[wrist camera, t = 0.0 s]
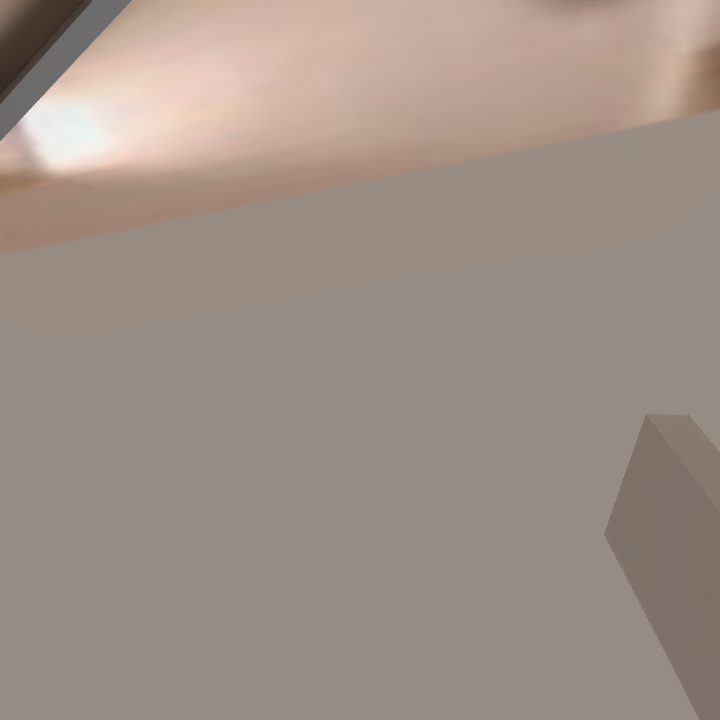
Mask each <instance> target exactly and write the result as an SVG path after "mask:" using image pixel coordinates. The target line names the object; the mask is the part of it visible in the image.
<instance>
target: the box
mask: <svg viewBox="0 0 720 720" xmlns="http://www.w3.org/2000/svg"><path fill="white" fill-rule="evenodd" d="M130 1H131V0H83V1H82V2H81V3H80V4H79V6H78V7H77V8H76V9H75V10H74V11H73V12H72V13H71V15H70V16H69V17H68V18H67V19H66V20H65V21H64V22H63V24H62V25H61V26H60V27H59V28H58V29H57V30H56V32H55V33H54V34H53V35H52V36H51V37H50V38H49V39H48V41H47V42H46V43H45V44H44V45H43V46H42V47H41V48H40V50H39V51H38V52H37V53H36V54H35V55H34V56H33V58H32V59H31V60H30V61H29V62H28V63H27V64H26V65H25V67H24V68H23V69H22V70H21V71H20V72H19V73H18V74H17V76H16V77H15V78H14V79H13V80H12V81H11V82H10V84H9V85H8V86H7V87H6V88H5V89H4V90H3V91H2V93H1V94H0V141H1V140H2V139H3V138H4V137H5V135H6V134H7V133H8V132H9V131H10V130H11V129H12V128H13V127H14V126H15V125H16V124H17V123H18V122H19V120H20V119H21V118H22V117H23V116H24V115H25V114H26V113H27V112H28V111H29V110H30V109H31V108H32V107H33V105H34V104H35V103H36V102H37V101H38V100H39V99H40V98H41V97H42V96H43V95H44V94H45V93H46V92H47V90H48V89H49V88H50V87H51V86H52V85H53V84H54V83H55V82H56V81H57V80H58V79H59V78H60V77H61V75H62V74H63V73H64V72H65V71H66V70H67V69H68V68H69V67H70V66H71V65H72V64H73V63H74V62H75V60H76V59H77V58H78V57H79V56H80V55H81V54H82V53H83V52H84V51H85V50H86V49H87V48H88V47H89V45H90V44H91V43H92V42H93V41H94V40H95V39H96V38H97V37H98V36H99V35H100V34H101V33H102V32H103V30H104V29H105V28H106V27H107V26H108V25H109V24H110V23H111V22H112V21H113V20H114V19H115V18H116V17H117V15H118V14H119V13H120V12H121V11H122V10H123V9H124V8H125V7H126V6H127V5H128V4H129V3H130Z"/></svg>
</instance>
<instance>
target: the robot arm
mask: <svg viewBox="0 0 720 720" xmlns="http://www.w3.org/2000/svg"><path fill="white" fill-rule="evenodd" d="M604 535H605V537H606V539H607V541H608V543H609V544H610V547H611V548H612V551H613V553H614V554H615V556H616V558H617V560H618V562H619V564H620V566H621V568H622V570H623V572H624V574H625V576H626V578H627V580H628V582H629V584H630V585H631V587H632V589H633V591H634V593H635V595H636V597H637V599H638V601H639V603H640V605H641V607H642V609H643V610H644V613H645V614H646V617H647V619H648V621H649V622H650V624H651V626H652V628H653V630H654V632H655V634H656V636H657V638H658V640H659V642H660V644H661V646H662V647H663V650H664V652H665V654H666V655H667V657H668V659H669V661H670V663H671V665H672V667H673V669H674V671H675V673H676V675H677V677H678V679H679V680H680V683H681V685H682V687H683V688H684V690H685V692H686V694H687V696H688V698H689V700H690V702H691V704H692V706H693V708H694V710H695V712H696V714H697V716H698V718H699V720H720V452H719V450H718V449H717V448H716V447H715V446H714V445H713V443H712V442H711V441H710V440H709V439H708V437H707V436H706V435H705V434H704V433H703V431H702V430H701V429H700V428H699V427H698V426H697V424H696V423H695V422H694V421H693V420H692V418H691V417H690V416H689V415H688V416H687V415H662V414H646V416H645V418H644V421H643V424H642V427H641V430H640V433H639V436H638V438H637V441H636V444H635V447H634V450H633V453H632V456H631V459H630V462H629V464H628V467H627V470H626V473H625V476H624V479H623V481H622V485H621V487H620V490H619V493H618V496H617V499H616V502H615V504H614V508H613V510H612V513H611V516H610V519H609V522H608V525H607V527H606V530H605V533H604Z"/></svg>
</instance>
